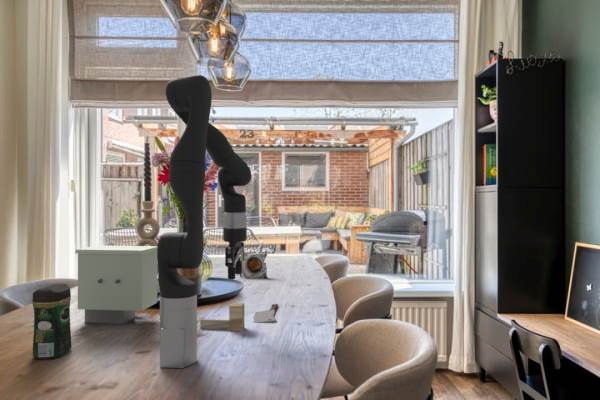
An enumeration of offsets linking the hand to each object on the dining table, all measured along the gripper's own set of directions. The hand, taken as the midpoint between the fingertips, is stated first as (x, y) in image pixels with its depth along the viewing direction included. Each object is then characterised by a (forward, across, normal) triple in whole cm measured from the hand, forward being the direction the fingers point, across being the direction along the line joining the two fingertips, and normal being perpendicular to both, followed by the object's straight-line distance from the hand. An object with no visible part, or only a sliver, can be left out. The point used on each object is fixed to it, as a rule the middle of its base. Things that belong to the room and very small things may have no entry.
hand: (235, 276), depth 144 cm
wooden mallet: (+17, 0, +4) cm, 17 cm away
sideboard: (+17, +3, +42) cm, 45 cm away
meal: (+20, +93, +15) cm, 97 cm away
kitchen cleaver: (+18, +20, -6) cm, 27 cm away
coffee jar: (+16, -29, +43) cm, 54 cm away
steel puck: (+17, +4, +34) cm, 38 cm away
